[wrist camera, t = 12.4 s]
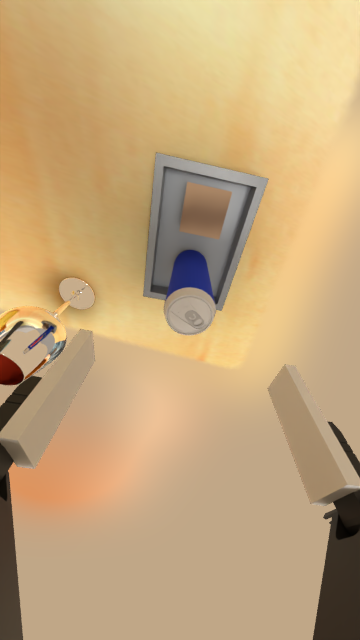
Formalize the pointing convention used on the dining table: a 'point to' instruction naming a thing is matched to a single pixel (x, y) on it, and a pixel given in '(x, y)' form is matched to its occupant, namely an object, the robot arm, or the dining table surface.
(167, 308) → the beverage can
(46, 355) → the wineglass
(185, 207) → the walnut block
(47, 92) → the dining table surface
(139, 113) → the dining table surface
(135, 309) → the dining table surface
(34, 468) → the robot arm
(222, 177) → the tray
